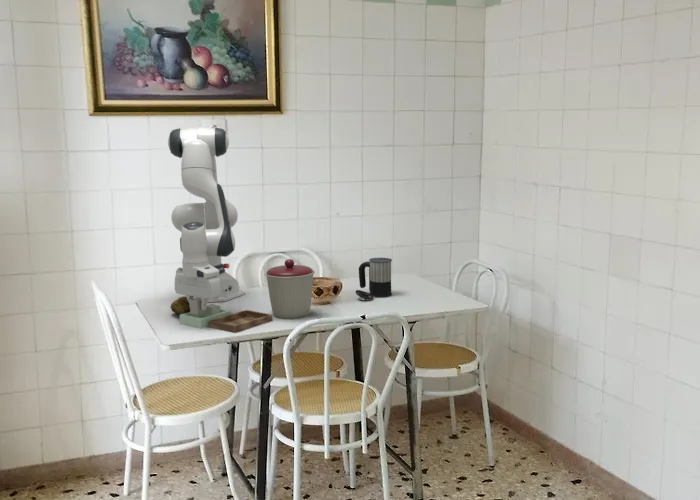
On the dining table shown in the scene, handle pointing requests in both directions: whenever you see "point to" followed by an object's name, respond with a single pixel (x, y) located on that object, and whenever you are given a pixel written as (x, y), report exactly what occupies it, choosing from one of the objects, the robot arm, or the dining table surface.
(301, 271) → the canister
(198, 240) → the robot arm
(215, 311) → the stone
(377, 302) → the dining table surface
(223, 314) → the green bin
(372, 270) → the milk frother
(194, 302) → the stone
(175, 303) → the potato
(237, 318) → the walnut tray
